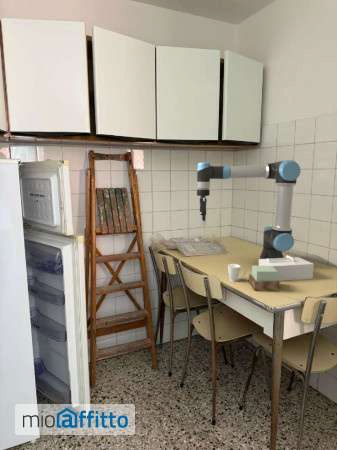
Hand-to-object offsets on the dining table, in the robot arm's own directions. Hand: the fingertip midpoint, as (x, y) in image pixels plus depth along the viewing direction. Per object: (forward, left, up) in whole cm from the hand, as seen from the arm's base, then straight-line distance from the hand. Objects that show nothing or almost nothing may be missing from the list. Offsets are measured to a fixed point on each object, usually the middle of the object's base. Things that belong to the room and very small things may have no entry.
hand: (202, 224), depth 186 cm
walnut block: (-29, +33, -27) cm, 52 cm away
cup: (-17, +23, -27) cm, 39 cm away
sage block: (-29, +33, -22) cm, 49 cm away
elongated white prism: (-46, +15, -27) cm, 55 cm away
